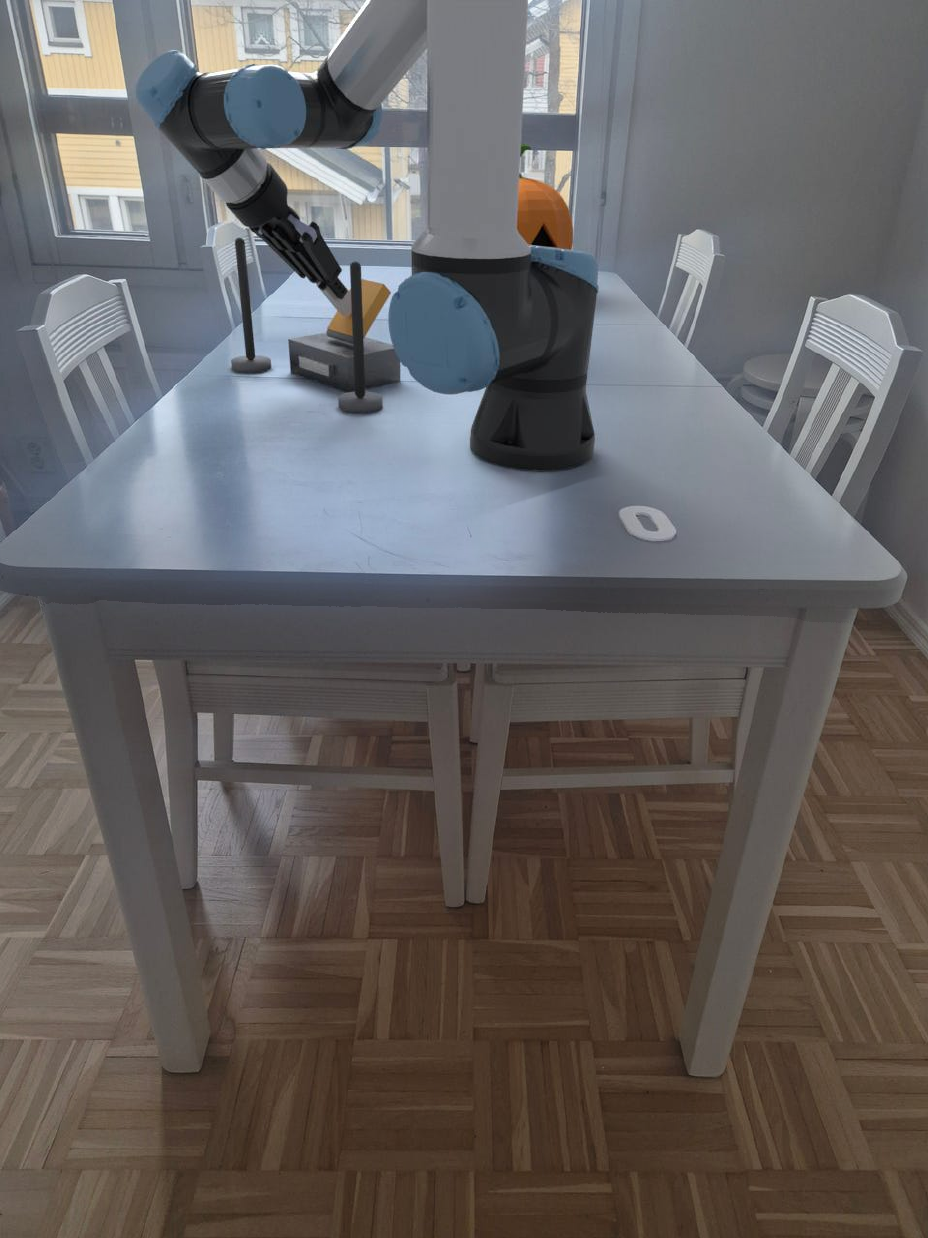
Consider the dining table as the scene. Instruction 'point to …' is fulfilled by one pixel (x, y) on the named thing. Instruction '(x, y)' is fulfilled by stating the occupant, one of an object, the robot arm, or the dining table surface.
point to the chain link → (637, 529)
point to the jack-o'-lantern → (542, 214)
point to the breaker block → (342, 361)
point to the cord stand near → (358, 355)
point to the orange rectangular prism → (371, 306)
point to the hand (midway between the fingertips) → (349, 309)
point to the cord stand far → (247, 320)
